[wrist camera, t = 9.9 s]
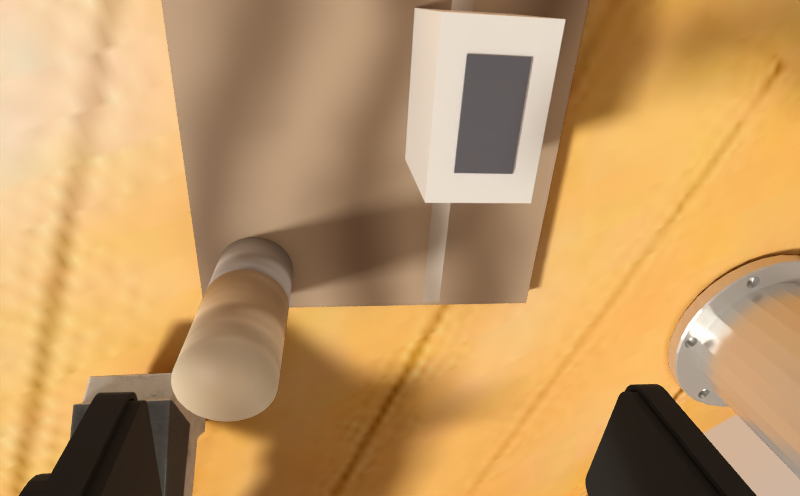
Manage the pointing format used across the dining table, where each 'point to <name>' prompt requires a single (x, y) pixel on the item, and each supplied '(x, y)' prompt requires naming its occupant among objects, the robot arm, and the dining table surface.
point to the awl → (237, 334)
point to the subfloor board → (342, 150)
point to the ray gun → (157, 425)
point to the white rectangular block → (479, 103)
